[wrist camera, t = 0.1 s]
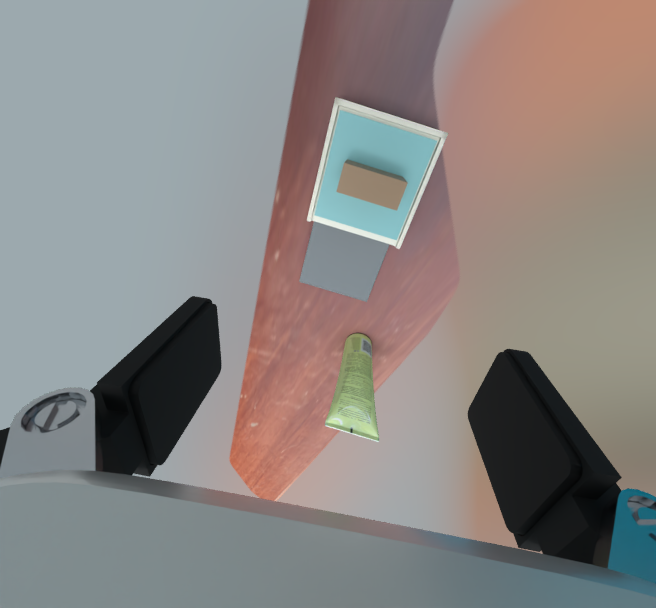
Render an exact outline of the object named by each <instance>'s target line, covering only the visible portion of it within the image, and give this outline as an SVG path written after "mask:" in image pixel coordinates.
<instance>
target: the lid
mask: <svg viewBox="0 0 656 608" xmlns="http://www.w3.org/2000/svg"><path fill="white" fill-rule="evenodd" d="M436 143H437V141H436V140H433V139H430V138H427V137H423V136H420V135H417V134H414V133H411V132H408V131H405V130H402V129H398V128H395V127H392V126H389V125H386V124H383V123H380V122H377V121H373V120H370V119H367V118H364V117H361V116H358V115H355V114H352V113H348V112H345V111H342V110H340V112H339V116H338V120H337V124H336V128H335V132H334V137H333V141H332V145H331V149H330V153H329V157H328V161H327V165H326V169H325V173H324V178H323V182H322V186H321V190H320V194H319V198H318V202H317V206H316V210H315V214H314V215H315V216H319V217H322V218H325V219H328V220H332V221H335V222H338V223H341V224H345V225H348V226H351V227H354V228H358V229H361V230H364V231H368V232H371V233H374V234H377V235H381V236H384V237H387V238H390V239H394V240H397V239H398V236H399V234H400V231H401V229H402V226H403V224H404V221H405V219H406V216H407V214H408V212H409V209H410V207H411V204H412V202H413V199H414V197H415V194H416V192H417V190H418V187H419V185H420V182H421V180H422V177H423V175H424V172H425V170H426V167H427V165H428V163H429V160H430V158H431V155H432V153H433V150H434V148H435V145H436Z"/></svg>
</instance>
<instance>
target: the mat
mask: <svg viewBox="0 0 656 608" xmlns="http://www.w3.org/2000/svg"><path fill="white" fill-rule="evenodd" d="M388 247H389V244H387V243H384V242H381V241H377V240H374V239H371V238H368V237H364V236H361V235H358V234H354V233H351V232H348V231H345V230H341V229H338V228H335V227H332V226H328V225H325V224H322V223H319V222H315V221H314V224H313V228H312V232H311V236H310V240H309V244H308V248H307V252H306V256H305V261H304V265H303V269H302V273H301V277H300V281H299V282H302V283H305V284H309V285H312V286H315V287H319V288H322V289H326V290H329V291H332V292H336V293H339V294H342V295H346V296H349V297H352V298H356V299H359V300H362V301H366V302H367V300H368V297H369V295H370V292H371V290H372V287H373V285H374V282H375V280H376V277H377V275H378V272H379V270H380V267H381V265H382V262H383V259H384V257H385V254H386V252H387V249H388Z"/></svg>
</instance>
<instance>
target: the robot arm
mask: <svg viewBox="0 0 656 608" xmlns="http://www.w3.org/2000/svg"><path fill="white" fill-rule="evenodd" d="M220 371H221V352H220V341H219V328H218V315H217V306H216V305H215V304H212V301H211V300H210V299H207V298H201V297H195V296H192V297H191V298H189V299H188V300H187V301H186V302H185V303H184V304H183V305H182V306H180V307H179V308H178V309H177V310H176V311H175V312H174V313H173V314H172V315H170V316H169V317H168V318H167V319H166V320H165V321H164V322H163V323H162V324H161V325H160V326H158V327H157V328H156V329H155V330H154V331H153V332H152V333H151V334H150V335H149V336H147V337H146V338H145V339H144V340H143V341H142V342H141V343H140V344H139V345H138V346H137V347H135V348H134V349H133V350H132V351H131V352H130V353H129V354H128V355H127V356H126V357H124V358H123V359H122V360H121V361H120V362H119V363H118V364H117V365H116V366H115V367H113V368H112V369H111V370H110V371H109V372H108V373H107V374H106V375H105V376H104V377H103V378H101V379H100V380H99V381H98V382H97V385H96V386H95V387H94V388H93V389H92V390H90V391H89V390H87V389H83V388H64V389H59V390H56V391H53V392H50V393H47V394H44V395H42V396H40V397H39V398H36V399H34V400H33V401H31V402H30V403H29V404H27V405H26V406H24V407H23V408H22V409H21V410H20V411H19V412H18V413H17V414H16V416H15V417H14V419H13V421H12V423H11V426H10V427H9V428H6V429H3V430H0V608H656V497H655V496H653V495H651V494H649V493H646V492H643V491H640V490H638V489H629V488H628V489H625V490H622V491H621V489H620V488H619V487H618V485H617V484H616V482H617V481H618V480H619V479H621V476H620V475H619V473H618V472H617V471H616V470H615V468H614V467H613V465H612V464H611V463H610V461H609V460H608V459H607V457H606V456H605V455H604V453H603V452H602V451H601V449H600V448H599V446H598V445H597V444H596V442H595V441H594V440H593V438H592V437H591V436H590V434H589V433H588V432H587V430H586V429H585V428H584V426H583V425H582V424H581V422H580V421H579V420H578V418H577V417H576V415H575V414H574V413H573V411H572V410H571V409H570V407H569V406H568V405H567V403H566V402H565V401H564V400H563V398H562V397H561V395H560V394H559V393H558V391H557V390H556V389H555V387H554V386H553V385H552V383H551V382H550V380H549V379H548V378H547V376H546V375H545V374H544V372H543V371H542V370H541V368H540V367H539V366H538V364H537V363H536V362H535V360H534V359H533V357H532V356H531V355H530V354H529V353H528V352H525V351H519V350H513V349H506V350H505V351H504V352H500V353H499V354H498V355H497V356H496V358H495V360H494V362H493V364H492V366H491V368H490V370H489V372H488V373H487V375H486V377H485V379H484V381H483V383H482V385H481V386H480V388H479V390H478V392H477V394H476V396H475V398H474V400H473V402H472V403H471V405H470V407H469V410H468V419H469V422H470V425H471V428H472V431H473V433H474V437H475V439H476V442H477V445H478V448H479V451H480V453H481V456H482V459H483V462H484V465H485V468H486V470H487V473H488V476H489V479H490V482H491V484H492V487H493V490H494V493H495V496H496V499H497V501H498V504H499V507H500V510H501V512H502V515H503V518H504V521H505V524H506V526H507V528H508V530H509V531H510V532H512V533H513V534H514V536H515V539H516V542H517V545H518V547H519V548H523V549H528V550H533V551H538V552H540V551H541V550H542V552H543V554H540V553H536V552H531V551H526V550H522V549H516V548H512V547H506V546H502V545H497V544H492V543H487V542H482V541H477V540H471V539H466V538H461V537H456V536H451V535H446V534H441V533H436V532H431V531H426V530H421V529H416V528H411V527H406V526H401V525H395V524H390V523H385V522H380V521H375V520H369V519H365V518H360V517H354V516H349V515H344V514H338V513H333V512H328V511H323V510H318V509H313V508H307V507H302V506H297V505H292V504H287V503H281V502H276V501H271V500H266V499H260V498H255V497H249V496H244V495H239V494H234V493H228V492H223V491H217V490H212V489H207V488H202V487H196V486H191V485H185V484H179V483H173V482H167V481H161V480H155V479H150V478H144V477H137V476H132V474H133V473H135V474H140V475H145V476H150V475H151V474H152V472H153V471H154V469H155V468H156V466H157V465H162V464H163V463H164V462H165V461H166V459H167V458H168V456H169V454H170V453H171V451H172V449H173V448H174V446H175V445H176V443H177V441H178V440H179V438H180V437H181V435H182V434H183V432H184V430H185V429H186V427H187V426H188V424H189V422H190V421H191V419H192V418H193V416H194V414H195V413H196V411H197V409H198V408H199V406H200V404H201V403H202V401H203V400H204V398H205V396H206V395H207V393H208V392H209V390H210V388H211V387H212V385H213V384H214V382H215V381H216V379H217V377H218V375H219V373H220Z"/></svg>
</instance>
